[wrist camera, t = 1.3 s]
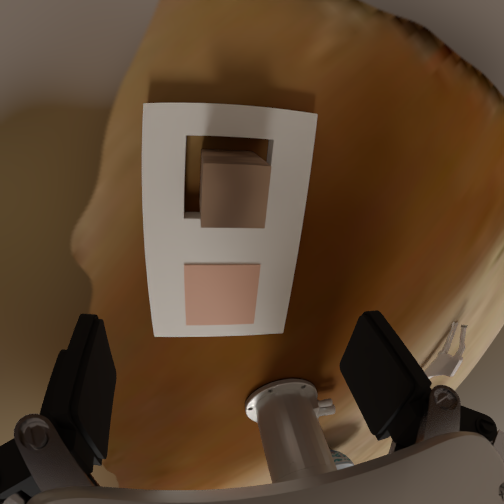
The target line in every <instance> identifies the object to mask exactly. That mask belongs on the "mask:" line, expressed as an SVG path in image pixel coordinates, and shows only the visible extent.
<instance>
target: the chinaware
mask: <svg viewBox="0 0 504 504" xmlns="http://www.w3.org/2000/svg"><path fill="white" fill-rule="evenodd" d="M330 452H331V455H332V457H333V460H334V462H335V465H336V467H337V470H339V469H343V468H347V467H350V466H354V464H353V462H352V461H351V460H350V459H349V458H348V457H347V456H346V455H344V454H343V453H341V452H338V451H335V450H330Z"/></svg>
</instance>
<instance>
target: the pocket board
mask: <svg viewBox="0 0 504 504" xmlns="http://www.w3.org/2000/svg"><path fill="white" fill-rule="evenodd" d="M317 116H318V114H314V113H307V112H300V111H293V110H285V109H277V108H268V107H258V106H246V105H232V104H214V103H144V104H143V126H142V204H143V227H144V244H145V258H146V270H147V280H148V290H149V299H150V308H151V316H152V323H153V331H154V337H208V336H239V335H260V334H277V333H283V331H284V326H285V321H286V316H287V310H288V305H289V300H290V294H291V289H292V283H293V278H294V272H295V267H296V261H297V255H298V249H299V243H300V237H301V231H302V225H303V218H304V212H305V205H306V199H307V192H308V185H309V178H310V171H311V164H312V156H313V148H314V141H315V133H316V124H317ZM187 135H200V136H227V137H245V138H259V139H269V143H268V152H267V163H268V164H269V165H271V176H270V185H269V194H268V203H267V212H266V221H265V228H201V221H200V212H184V202H185V163H186V140H187Z"/></svg>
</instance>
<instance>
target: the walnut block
mask: <svg viewBox="0 0 504 504" xmlns="http://www.w3.org/2000/svg"><path fill="white" fill-rule="evenodd" d="M270 176H271V165H269V164H268V163H267V162H266V161H264V160H263V159H262V158H261V157H259V156H258V155H257V154H256V153H254V152H253V151H243V150H222V149H202V150H201V170H200V194H199V200H200V221H201V228H265V221H266V212H267V203H268V194H269V185H270Z"/></svg>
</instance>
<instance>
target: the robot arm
mask: <svg viewBox="0 0 504 504" xmlns="http://www.w3.org/2000/svg"><path fill="white" fill-rule="evenodd" d="M340 370H341V373H342V375H343V377H344V379H345V381H346V383H347V385H348V387H349V389H350V391H351V393H352V395H353V397H354V399H355V401H356V403H357V405H358V407H359V409H360V411H361V413H362V415H363V417H364V419H365V421H366V423H367V425H368V427H369V429H370V431H371V433H372V434H373V435H375V436H376V438H377V440H378V441H379V440H382V439H385V438H388V437H389V436H391V438H392V443H391V447H390V450H389V454H387V455H385V456H382V457H379V458H376V459H373V460H370V461H367V462H364V463H360V464H357V465H354V466H350V467H347V468H343V469H339V470H337V467H336V465H335V462H334V460H333V457H332V455H331V452H330V449H329V447H328V444H327V442H326V439H325V436H324V434H323V431H322V429H321V426H320V423H319V421H318V418H319V416H323V415H330V414H334V413H335V406H334V404H332V399H331V398H329V399H324V400H320V401H319V400H317V396H318V394H317V390H316V388H315V386H314V385H313V384H312V383H310V382H309V381H306V380H302V379H283V380H279V381H275V382H272V383H269V384H267V385H265V386H262V387H261V388H259V389H257V390H256V391H255V392H253V393H252V394H251V395H250V396H249V397H248V399H247V401H246V403H245V411H246V414H247V416H248V417H249V418H250V419H251V420H253V421H255V422H258V427H259V431H260V435H261V439H262V443H263V448H264V452H265V456H266V460H267V464H268V468H269V472H270V476H271V480H272V484H266V485H258V486H250V487H241V488H230V489H215V490H142V489H128V488H112V487H100V485H99V484H98V483H97V481H96V480H95V479H94V477H93V476H92V475H91V473H92V472H93V465H99V466H100V465H102V459H106V457H107V450H108V439H109V430H110V421H111V413H112V405H113V398H114V391H115V384H116V369H115V366H114V362H113V359H112V355H111V351H110V347H109V343H108V339H107V335H106V331H105V327H104V322H103V320H102V319H98V316H97V315H94V314H81V315H80V316H79V319H78V322H77V324H76V327H75V330H74V332H73V335H72V338H71V340H70V344H69V346H68V349H67V350H61V351H60V353H59V355H58V358H57V360H56V363H55V366H54V369H53V372H52V375H51V378H50V381H49V384H48V387H47V391H46V394H45V397H44V401H43V404H42V408H41V411H40V414H29V415H25V416H24V417H22V418H21V419H20V420H19V421H18V422H17V424H16V426H15V429H14V439H12V440H10V441H9V442H7V443H5V444H3V445H2V446H0V504H504V433H503V432H502V431H501V430H499V431H497V427H496V424H495V422H494V421H493V420H492V419H491V418H490V417H489V416H487V415H485V414H482V413H480V412H477V411H474V410H472V409H469V408H466V407H464V406H461V403H460V398H459V396H458V394H457V393H456V392H455V391H454V390H453V389H452V388H450V387H448V386H445V385H437V386H435V387H434V388H433V389H432V390H431V388H430V386H431V384H432V383H431V381H430V380H429V378H428V377H427V375H426V374H425V372H424V371H423V370H422V368H421V367H420V365H419V364H418V363H417V361H416V360H415V358H414V357H413V356H412V354H411V353H410V351H409V350H408V349H407V347H406V346H405V345H404V343H403V342H402V340H401V339H400V338H399V336H398V335H397V334H396V332H395V331H394V330H393V328H392V327H391V326H390V324H389V323H388V322H387V320H386V319H385V318H384V316H383V315H382V314H381V313H380V312H379V311H366V312H364V313H363V314H362V316H360V317H359V319H358V321H357V324H356V326H355V329H354V331H353V334H352V336H351V338H350V341H349V343H348V346H347V348H346V350H345V352H344V355H343V357H342V359H341V362H340Z"/></svg>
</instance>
